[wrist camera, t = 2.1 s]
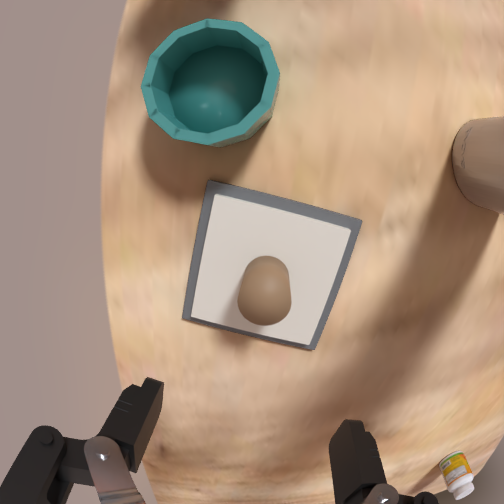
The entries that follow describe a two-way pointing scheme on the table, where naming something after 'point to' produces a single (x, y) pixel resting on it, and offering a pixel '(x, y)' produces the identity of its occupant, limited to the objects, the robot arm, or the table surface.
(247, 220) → the lid
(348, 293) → the table surface
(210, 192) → the mat
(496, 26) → the table surface
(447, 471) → the supplement bottle
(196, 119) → the bowl
